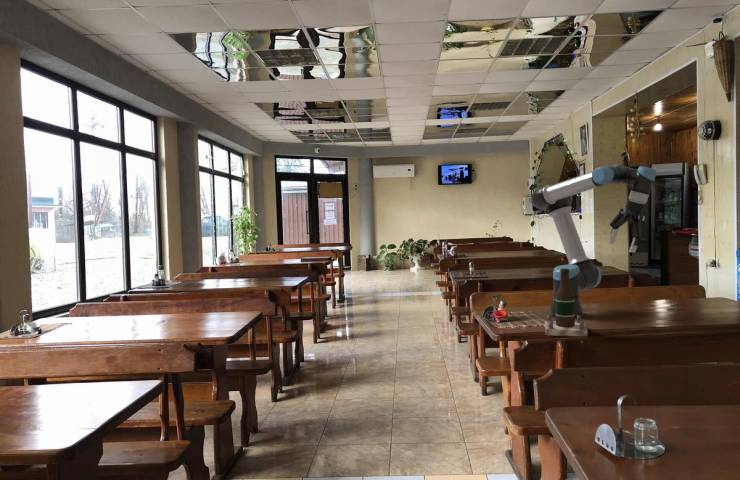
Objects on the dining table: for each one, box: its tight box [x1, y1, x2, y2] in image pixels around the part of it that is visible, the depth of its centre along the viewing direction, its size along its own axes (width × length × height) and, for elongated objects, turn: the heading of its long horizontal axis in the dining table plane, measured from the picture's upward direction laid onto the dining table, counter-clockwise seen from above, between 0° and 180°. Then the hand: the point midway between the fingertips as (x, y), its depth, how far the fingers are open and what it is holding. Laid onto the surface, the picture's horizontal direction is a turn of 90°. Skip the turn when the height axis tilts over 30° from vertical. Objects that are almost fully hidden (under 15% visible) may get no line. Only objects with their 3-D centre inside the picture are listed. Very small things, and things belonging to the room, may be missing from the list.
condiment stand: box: [544, 314, 588, 337], centre depth 244 cm, size 16×16×6 cm
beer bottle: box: [554, 268, 576, 327], centre depth 243 cm, size 8×8×24 cm
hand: (621, 247), depth 260 cm, fingers open, 13 cm apart
